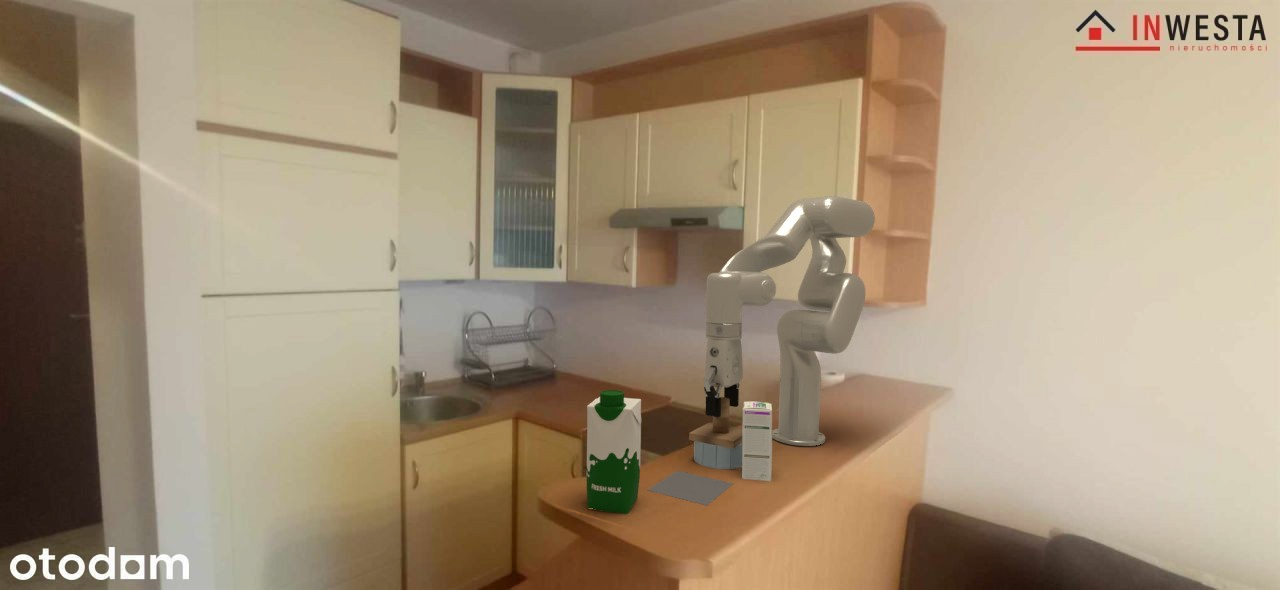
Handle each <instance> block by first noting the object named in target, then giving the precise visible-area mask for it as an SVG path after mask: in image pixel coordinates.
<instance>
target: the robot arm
mask: <svg viewBox="0 0 1280 590" xmlns="http://www.w3.org/2000/svg"><path fill="white" fill-rule="evenodd" d="M875 222H876V217H875V213H874V210H873V208H872V207H871V206H870V204H869V203H867V202H865V201H862V200H857V199H852V198H848V197H842V196H836V195H828V196H827V195H826V196H819V197H817V196H816V197H806V198H801V199H797V200H795V201H793V202H792V203H791V204H790V205H789V206H788V207H787V209H786V210H785V211H784V212H783V214H781V216H780V217H779V219H778V220H777V221H776V223H775V224H774V225H773V226H772V228H771V229H770V230H769V231H768V232H767V233H766V234H765V235H764V236H763V237H761V238H760V239H759V238H758V239H757V240H755V241H754V242H753V243H751V244H749V245H747V246H746V247H743V248H742V249H741V250H739V251H738V252H736V253H735V254H734V255H732V257H730V258H729V260H727V262H726V263H725V264H724V265H723V266H722V268H721V269H720V271H719V272H712V273H710V274H709V275H708V276H707V278H706V296H705V297H706V299H705V300H706V302H705V304H706V305H705V307H706V308H705V311H706V312H705V338H707V342H706V354H705V369H704V371H705V372H704V377H703V382H702V383H703V385H704V386H703V390H704V396H705V415H706V416H709V417H713V416H714V417H720V416H721V398H720V397H721V392H722V389H723V387H724V389H723V393H724V394H723V397H726V398H729V399H730V404H729V407H734V408H736V407H739V404H740V403H739V400H740V399H739V397H740V395H739V393H740V391H739V389H740V383H741V381H742V380H743V378H744V377H743V375H744V374H743V372H744V369H743V347H742V337H743V335H742V333H743V326H742V324H743V306H746V307H764V306H765V305H768V304H769V303H771V302H772V300H773V299H774V298H775V296H776V294H777V293H776V292H777V287H776V285H777V284H776V283H775V280H774V279H773V277H772V276H771V275H769V274H767V273H764V271H766V270H770V269H773V268H777V267H779V266H783V265H785V264H788V263H790V262H792V261H794V260H795V259H796V258H797V257H798V255H799V254H800V253H801V251H802V250H803V248H804V247H805V246H806V244H807V243H808V242H809V241H810V244H811V248H812V251H811V252H812V254H811V258H810V261H809V264H808V266H807V269H806V272H805V273H804V276H803V279H802V281H801V284H800V285H799V288H798V293H797V301H798V302H799V304H800V305H801V306H802V308H805V309H792V310H789V311H786V312H784V313H783V314H782V315H781V316H780V317H779V319H778V321H777V326H776V333H777V339H778V345H779V353H780V355H779V357H780V360H779V361H780V364H779V365H780V369H779V370H780V371H779V372H780V373H779V397H778V398H779V399H778V428H775V429H772V439H773V440H775V441H777V442H779V443H782V444H786V445H791V446H798V447H816V445H817V446H821V445H823V444H824V443H825V442H826V435H825V434H824V433H822V432H821V431H820V410H821V409H820V408H821V406H820V405H821V404H820V403H821V381H822V380H821V379H822V378H821V377H822V370H821V364H820V360H819V359H818V356H817V354H816V352H818V353H825V354H831V355H833V354H834V355H835V354H840V353H843V352H844V351H846V349H847V348H848V346H849V345H850V343H851V341H852V338H853V336H854V332H855V330H856V327H857V325H858V322H859V320H860V316H861V314H862V311H863V309H864V306H865V301H866V285H865V282H864V281H863V280H862V278H861V277H860V276H859V275H857V274H854V273H850V272H845V269H846V265H847V257H846V254H845V252H844V250H843V249H842V247H841V245H840V244H839V242H838V240H837V239H842V238H843V239H845V238H847V239H848V238H862V237H865V236H867V235H868V234H869V233H870V232H871V231H872V230H873V228H874V226H875ZM715 388H716V389H715ZM820 444H821V445H820Z"/></svg>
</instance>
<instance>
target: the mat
mask: <svg viewBox="0 0 1280 590" xmlns="http://www.w3.org/2000/svg"><path fill="white" fill-rule="evenodd" d="M733 485H734V482H729V481H725V480H720V479H717V478H712V477H707V476H702V475H699V474H694V473H689V472H685V471H681V470H675V471H674V472H673V473H671V474H670V475H668V476H667V477H665V478H664V479H662V480H660V481H658V483H655V484H654V485H653V486H651V487H649V488H648V489H647V491H649V492H652V493H655V494H656V493H657V494H659V495H660V494H661V495H663V496H668V497H672V498H675V499H680V500H683V501H688V502H690V503H695V504H699V505H703V506H706V507H708V506H709V505H710V504H711V503H712V502H713V501H715V500H716V499H717V498H718V497H720V496H721V495H722V494H723V493H724V492H725V491H727V490H728V489H729V488H730V487H732V486H733Z"/></svg>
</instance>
